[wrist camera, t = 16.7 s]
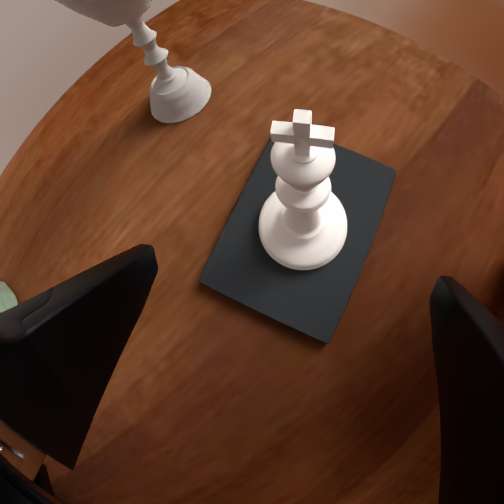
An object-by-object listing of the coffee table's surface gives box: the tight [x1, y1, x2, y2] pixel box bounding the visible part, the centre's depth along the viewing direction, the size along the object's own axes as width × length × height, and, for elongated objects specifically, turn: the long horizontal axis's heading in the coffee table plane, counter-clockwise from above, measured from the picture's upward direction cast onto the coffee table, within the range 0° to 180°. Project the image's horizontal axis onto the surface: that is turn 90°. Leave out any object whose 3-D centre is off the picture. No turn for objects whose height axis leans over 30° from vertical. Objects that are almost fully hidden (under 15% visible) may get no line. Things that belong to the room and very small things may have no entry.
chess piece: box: [259, 109, 347, 270], centre depth 12 cm, size 5×5×10 cm
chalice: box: [55, 0, 211, 123], centre depth 12 cm, size 7×7×18 cm
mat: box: [198, 139, 396, 344], centre depth 17 cm, size 11×8×1 cm
